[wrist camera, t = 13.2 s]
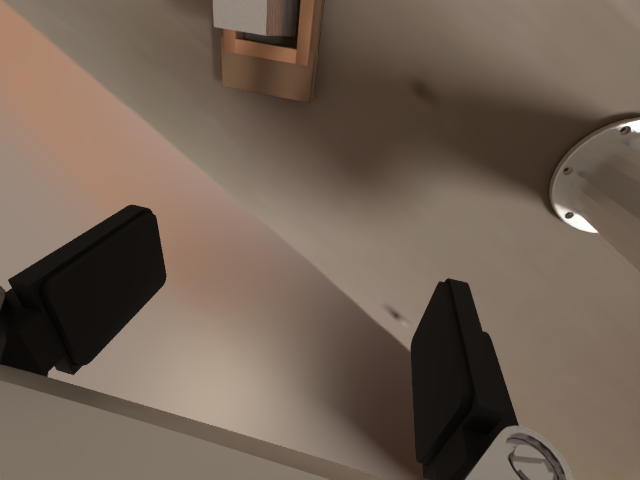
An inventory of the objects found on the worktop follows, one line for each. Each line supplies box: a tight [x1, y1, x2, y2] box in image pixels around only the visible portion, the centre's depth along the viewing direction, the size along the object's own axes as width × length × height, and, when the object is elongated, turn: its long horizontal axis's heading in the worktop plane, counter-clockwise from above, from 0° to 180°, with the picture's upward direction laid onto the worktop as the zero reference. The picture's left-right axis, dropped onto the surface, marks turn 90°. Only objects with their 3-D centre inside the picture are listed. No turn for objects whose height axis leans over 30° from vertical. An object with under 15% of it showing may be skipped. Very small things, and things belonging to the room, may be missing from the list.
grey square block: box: [213, 0, 298, 37], centre depth 28 cm, size 4×4×9 cm
